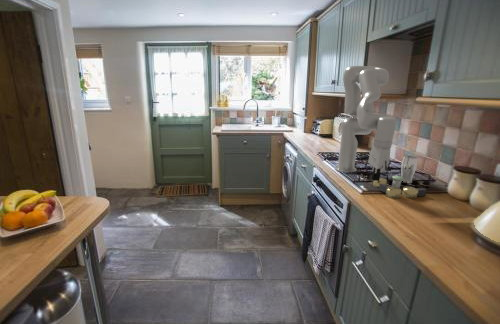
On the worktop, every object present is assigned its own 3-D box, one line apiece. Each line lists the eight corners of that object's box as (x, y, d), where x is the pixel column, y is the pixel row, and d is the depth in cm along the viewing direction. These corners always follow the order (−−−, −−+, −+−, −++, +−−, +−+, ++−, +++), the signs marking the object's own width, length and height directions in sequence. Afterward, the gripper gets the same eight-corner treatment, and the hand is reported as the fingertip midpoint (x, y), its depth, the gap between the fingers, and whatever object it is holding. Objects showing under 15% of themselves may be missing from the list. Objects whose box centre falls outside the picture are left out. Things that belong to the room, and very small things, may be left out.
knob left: (388, 188, 131) (389, 181, 130) (376, 188, 130) (377, 181, 129) (377, 180, 140) (378, 174, 139) (366, 180, 140) (367, 174, 139)
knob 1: (403, 197, 120) (404, 190, 119) (394, 199, 118) (395, 192, 117) (384, 189, 129) (385, 182, 128) (375, 191, 127) (376, 184, 126)
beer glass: (414, 186, 138) (420, 159, 133) (400, 185, 139) (406, 158, 134) (409, 181, 144) (415, 155, 140) (396, 180, 145) (401, 154, 141)
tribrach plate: (369, 186, 136) (371, 173, 134) (397, 186, 137) (399, 173, 135) (389, 202, 118) (392, 188, 116) (421, 202, 119) (425, 188, 117)
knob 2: (407, 198, 119) (408, 191, 118) (399, 193, 125) (400, 186, 124) (428, 198, 120) (429, 191, 119) (419, 193, 126) (420, 186, 125)
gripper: (367, 139, 128) (360, 174, 135) (383, 148, 114) (375, 186, 121) (381, 139, 129) (374, 174, 135) (399, 148, 115) (391, 186, 121)
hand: (375, 179), depth 128 cm, fingers closed
